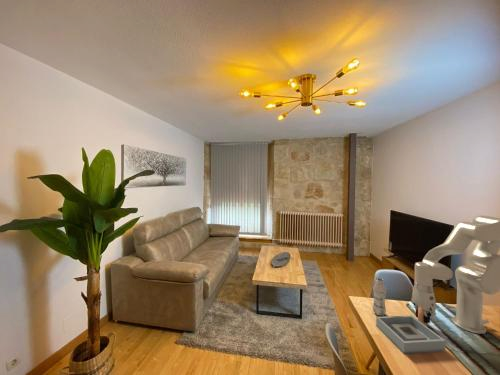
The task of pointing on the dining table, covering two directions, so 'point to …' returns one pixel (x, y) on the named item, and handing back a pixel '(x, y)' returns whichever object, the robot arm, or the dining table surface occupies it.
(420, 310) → the peg
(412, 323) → the grey socket tray
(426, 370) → the dining table surface
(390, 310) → the dining table surface
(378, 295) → the plastic bottle
